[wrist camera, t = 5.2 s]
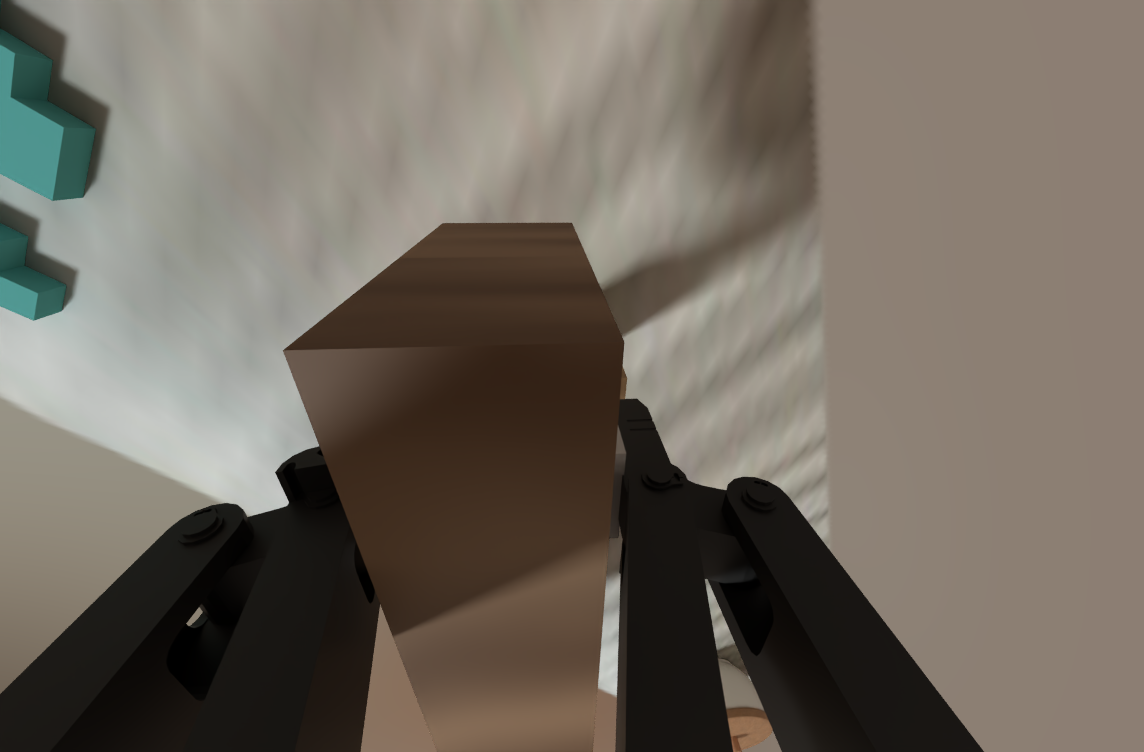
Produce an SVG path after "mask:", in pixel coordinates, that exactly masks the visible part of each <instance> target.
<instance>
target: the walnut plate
mask: <svg viewBox="0 0 1144 752" xmlns="http://www.w3.org/2000/svg"><path fill="white" fill-rule="evenodd" d="M283 352H284V355H285V357H286V360H287V362H288V365H289V368H290V370H291V373H292V375H293V378H294V381H295V383H296V386H297V388H298V391H299V394H300V396H301V399H302V401H303V404H304V407H305V409H306V412H307V414H308V417H309V420H310V422H311V425H312V427H313V430H314V433H315V435H316V438H317V441H318V443H319V446H320V448H321V451H322V454H323V456H324V459H325V461H326V464H327V467H328V469H329V472H330V474H331V477H332V480H333V482H334V485H335V487H336V490H337V493H338V495H339V498H340V500H341V503H342V506H343V508H344V511H345V513H346V516H347V519H348V521H349V524H350V526H351V529H352V532H353V534H354V537H355V539H356V542H357V545H358V547H359V550H360V552H361V555H362V558H363V560H364V563H365V565H366V568H367V571H368V573H369V576H370V578H371V581H372V584H373V586H374V589H375V591H376V594H377V597H378V599H379V602H380V604H381V607H382V610H383V612H384V615H385V617H386V620H387V622H388V625H389V628H390V630H391V633H392V635H393V638H394V641H395V644H396V646H397V649H398V651H399V654H400V656H401V659H402V662H403V664H404V667H405V670H406V672H407V675H408V677H409V680H410V682H411V685H412V688H413V690H414V693H415V696H416V698H417V701H418V703H419V706H420V709H421V711H422V714H423V716H424V719H425V722H426V724H427V727H428V729H429V732H430V735H431V737H432V740H433V742H434V745H435V748H436V750H437V752H593V741H594V729H595V715H596V702H597V690H598V677H599V664H600V651H601V638H602V625H603V612H604V599H605V586H606V573H607V560H608V547H609V534H610V521H611V508H612V495H613V482H614V469H615V456H616V443H617V430H618V417H619V404H620V391H621V378H622V365H623V352H624V340H623V338H622V336H621V333H620V331H619V329H618V327H617V324H616V322H615V320H614V318H613V315H612V313H611V311H610V308H609V306H608V304H607V302H606V299H605V297H604V295H603V293H602V290H601V288H600V286H599V283H598V281H597V279H596V277H595V274H594V272H593V270H592V268H591V265H590V263H589V261H588V258H587V256H586V254H585V252H584V249H583V247H582V245H581V243H580V240H579V238H578V236H577V233H576V231H575V229H574V227H573V224H572V223H443V224H441V225H440V226H439V227H438V228H436V229H435V230H434V231H433V232H431V233H430V234H429V235H428V236H426V237H425V238H424V239H422V240H421V241H420V242H419V243H417V244H416V245H415V246H414V247H412V248H411V249H410V250H409V251H407V252H406V253H405V254H404V255H402V256H401V257H400V258H399V259H397V260H396V261H395V262H394V263H392V264H391V265H390V266H389V267H387V268H386V269H385V270H383V271H382V272H381V273H380V274H378V275H377V276H376V277H375V278H373V279H372V280H371V281H370V282H368V283H367V284H366V285H365V286H363V287H362V288H361V289H360V290H358V291H357V292H356V293H355V294H353V295H352V296H351V297H350V298H348V299H347V300H346V301H344V302H343V303H342V304H341V305H339V306H338V307H337V308H336V309H334V310H333V311H332V312H331V313H329V314H328V315H327V316H326V317H324V318H323V319H322V320H321V321H319V322H318V323H317V324H316V325H314V326H313V327H312V328H311V329H309V330H308V331H307V332H305V333H304V334H303V335H302V336H300V337H299V338H298V339H297V340H295V341H294V342H293V343H292V344H290V345H289V346H288V347H287V348H285V349H284V350H283Z"/></svg>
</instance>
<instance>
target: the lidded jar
mask: <svg viewBox="0 0 1144 752" xmlns="http://www.w3.org/2000/svg"><path fill="white" fill-rule="evenodd" d="M718 662H719V668H720V674H721V680H722V686H723V692H724V698H725V704H726V710H727V716H728V722H729V728H730V734H731V740H732V746H733V752H742V750H743V749H746V748H749V747H752V746H754V745H757V744H759V743H760V742H762V741H763V740H765V739H766V738H767V737H768V736H769V735H770V734H771V733H772V731H773V729H772V727H771V725H770V722H769V720H768V718H767V715H766V713H765V711H764V709H763V706H762V704H761V702H760V699H759V697H758V695H757V692H756V690H755V688H754V685H753V683H752V682H751V681H750V679H749V678H748V677H747V676H746V675H745V674H744V673H743V672H742V671H741V670H740V669H738V668H737V667H735V666H733V665H731V663H730V662H729V661H728V660H726V659H721V658H718Z"/></svg>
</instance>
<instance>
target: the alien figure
mask: <svg viewBox="0 0 1144 752" xmlns="http://www.w3.org/2000/svg"><path fill="white" fill-rule="evenodd" d="M0 10H1V0H0ZM52 63H53V60H51V59H50V58H48V57H47V56H45V55H43V54H42V53H40V52H38V51H37V50H35V49H33V48H32V47H30V46H29V45H27V44H25V43H24V42H22V41H20V40H19V39H17V38H16V37H14V36H12V35H11V34H9V33H7V32H6V31H4V30H2V29H1V28H0V174H2V175H3V176H5V177H7V178H9V179H11V180H13V181H15V182H17V183H19V184H21V185H23V186H25V187H27V188H29V189H31V190H33V191H34V192H36V193H38V194H40V195H42V196H44V197H46V198H48V199H50V200H52V201H55V200H64V199H74V198H83V195H84V190H85V184H86V179H87V174H88V168H89V163H90V158H91V152H92V147H93V142H94V136H95V131H96V129H95V128H93V127H92V126H90V125H88V124H86V123H85V122H83V121H81V120H80V119H78V118H76V117H74V116H73V115H71V114H69V113H68V112H66V111H64V110H62V109H61V108H59V107H57V106H56V105H54V104H52V103H50V102H49V101H47V99H48V92H49V84H50V77H51V70H52ZM27 243H28V236H26V235H24V234H22V233H20V232H18V231H15V230H13V229H11V228H9V227H7V226H5V225H3V224H1V223H0V306H1V307H3V308H6V309H8V310H10V311H13V312H15V313H17V314H20V315H22V316H24V317H27V318H29V319H31V320H37V319H40V318H43V317H46V316H49V315H52V314H55V313H57V312H60V311H62V307H63V301H64V296H65V291H66V285H65V284H63V283H61V282H59V281H56V280H54V279H52V278H50V277H48V276H46V275H43V274H41V273H39V272H37V271H35V270H33V269H31V268H28V267H26V266H24V265H25V258H26V251H27Z"/></svg>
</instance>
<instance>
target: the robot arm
mask: <svg viewBox="0 0 1144 752" xmlns="http://www.w3.org/2000/svg"><path fill="white" fill-rule="evenodd" d="M275 473H276V475H277V477H278V479H279V482H280V484H281V486H282V488H283V490H284V492H285V494H286V496H287V499H288V501H289V504H288V506H286V507H283V508H280V509H276V510H272V511H269V512H265V513H261V514H257V515H254V516H250V517H247V516H246V514H245V512H244V510H243V509H242V508H241V507H239V506H238V505H236V504H229V503H224V504H217V505H212V506H209V507H206V508H203V509H201V510H197V511H195V512H193V513H191V514H190V515H188V516H186V517H184V518H182V519H181V520H179V521H178V522H177V523H175V524H174V525H173V526H172V527H171V528H169V529H168V530H167V531H166V532H165V533H164V534H163V535H162V536H161V537H160V538H159V539H158V540H157V541H156V542H155V543H154V544H153V545H152V546H151V547H150V548H149V549H148V550H146V551H145V553H143V554H142V555H141V556H140V557H139V558H138V559H137V560H136V561H135V562H134V563H133V564H132V565H131V566H130V567H129V568H128V569H127V570H126V571H125V572H124V573H123V574H122V575H121V576H120V577H119V578H118V579H117V580H116V581H115V582H114V583H113V584H112V585H111V586H110V587H109V588H108V589H107V590H106V591H105V592H104V593H103V594H102V595H101V596H100V597H99V598H98V599H97V600H96V601H95V602H94V603H93V604H91V605H90V607H88V609H86V610H85V611H84V612H83V613H82V614H81V615H80V616H79V617H78V618H77V619H76V620H75V621H74V622H73V623H72V624H71V625H70V626H69V627H68V628H67V629H66V630H65V631H64V632H63V633H62V634H61V635H60V636H59V637H58V638H57V639H56V640H55V641H54V642H53V643H52V644H51V645H50V646H49V647H48V648H47V649H46V650H45V651H44V652H43V653H42V654H41V655H40V656H39V657H38V658H37V659H36V660H34V661H33V662H32V663H31V664H30V665H29V666H28V667H27V668H26V669H25V670H24V671H23V672H22V673H21V674H20V675H19V676H18V677H17V678H16V679H15V680H14V681H13V682H12V683H11V684H10V685H9V686H8V687H7V688H6V689H5V690H4V691H3V692H2V693H1V694H0V752H360V751H361V743H362V735H363V728H364V720H365V712H366V706H367V698H368V691H369V682H370V675H371V668H372V661H373V653H374V646H375V638H376V631H377V623H378V615H379V608H380V602H379V599H378V597H377V594H376V591H375V589H374V586H373V584H372V581H371V578H370V576H369V573H368V571H367V568H366V565H365V563H364V560H363V558H362V555H361V552H360V550H359V547H358V545H357V542H356V539H355V537H354V534H353V532H352V529H351V526H350V524H349V521H348V519H347V516H346V513H345V511H344V508H343V506H342V503H341V500H340V498H339V495H338V493H337V490H336V487H335V485H334V482H333V480H332V477H331V474H330V472H329V469H328V467H327V464H326V461H325V459H324V456H323V454H322V451H321V448H320V446H319V447H315V448H311V449H307V450H305V451H303V452H300V453H298V454H296V455H294V456H292V457H291V458H289V459H288V460H287V461H285V462H284V463H282V465H281V466H280V467H279V468H278V470H277V471H276V472H275ZM619 526H620V529H621V534H622V538H623V541H622V551H621V561H620V571H619V573H621V580H620V614H619V648H618V682H617V718H616V750H615V752H733V746H732V740H731V734H730V728H729V722H728V716H727V710H726V704H725V698H724V692H723V686H722V680H721V674H720V668H719V662H718V656H717V650H716V644H715V638H714V632H713V626H712V620H711V614H710V608H709V602H708V596H707V590H706V584H705V579H708V581H709V583H710V586H711V588H712V590H713V593H714V595H715V597H716V600H717V602H718V604H719V607H720V609H721V611H722V614H723V616H724V618H725V620H726V623H727V625H728V627H729V630H730V632H731V634H732V637H733V639H734V641H735V644H736V646H737V648H738V651H739V653H740V655H741V658H742V660H743V662H744V665H745V667H746V669H747V671H748V674H749V676H750V678H751V681H752V683H753V685H754V688H755V690H756V692H757V695H758V697H759V699H760V702H761V704H762V706H763V709H764V711H765V713H766V715H767V718H768V720H769V722H770V725H771V727H772V729H773V732H774V734H775V736H776V739H777V741H778V743H779V745H780V748H781V750H782V752H984V751H983V750H982V749H981V747H980V746H979V745H978V743H977V742H976V741H975V740H974V738H973V737H972V736H971V734H970V733H969V732H968V730H967V729H966V728H965V726H964V725H963V724H962V723H961V721H960V720H959V719H958V717H957V716H956V715H955V713H954V712H953V711H952V709H951V708H950V707H949V706H948V704H947V703H946V702H945V700H944V699H943V698H942V697H941V695H940V694H939V693H938V691H937V690H936V689H935V687H934V686H933V685H932V683H931V682H930V681H929V679H928V678H927V677H926V675H925V674H924V673H923V672H922V670H921V669H920V668H919V666H918V665H917V664H916V663H915V661H914V660H913V659H912V657H911V656H910V655H909V653H908V652H907V651H906V649H905V648H904V647H903V645H902V644H901V643H900V642H899V640H898V639H897V638H896V636H895V635H894V634H893V632H892V631H891V630H890V628H889V627H888V626H887V625H886V623H885V622H884V621H883V619H882V618H881V617H880V615H879V614H878V613H877V612H876V610H875V609H874V608H873V606H872V605H871V604H870V603H869V601H868V600H867V598H866V597H865V596H864V595H863V593H862V592H861V591H860V589H859V588H858V587H857V585H856V584H855V583H854V582H853V580H852V579H851V578H850V576H849V575H848V574H847V572H846V571H845V570H844V568H843V567H842V566H841V565H840V563H839V562H838V561H837V559H836V558H835V557H834V555H833V554H832V553H831V551H830V550H829V549H828V548H827V546H826V545H825V544H824V542H823V541H822V540H821V538H820V537H819V536H818V535H817V533H816V532H815V531H814V529H813V528H812V527H811V525H810V524H809V523H808V521H807V520H806V519H805V518H804V516H803V515H802V514H801V512H800V511H799V510H798V508H797V507H796V506H795V505H794V503H793V502H792V501H791V499H790V498H789V497H788V496H787V495H786V494H785V493H784V492H783V491H782V490H781V489H780V488H779V487H777V486H775V485H774V484H772V483H770V482H768V481H766V480H762V479H759V478H756V477H741V478H737V479H734V480H733V481H731V482H730V483H729V484H728V487H727V490H721V489H716V488H711V487H706V486H702V485H699V484H695V483H693V482H691V481H689V480H687V478H686V475H685V474H684V473H683V472H682V471H681V470H680V469H679V468H678V467H676V466H674V465H672V464H671V463H670V460H669V458H668V455H667V453H666V451H665V448H664V446H663V444H662V441H661V439H660V436H659V434H658V432H657V430H656V427H655V424H654V422H653V421H652V417H651V415H650V413H649V410H648V408H647V407H646V406H645V405H644V404H642V403H641V402H640V401H639V400H638V399H620V404H619V417H618V430H617V443H616V456H615V469H614V482H613V495H612V508H611V521H610V534H609V538H618V536H619ZM199 607H200V608H201V610H202V611H203V613H202V614H201V615H200V617H199V618H198V619H197V620H196V621H195V622H194V623H193V624H192V625H191V626H188V625H187V624H186V623H187V622H188V621H189V619H190V618H191V617H192V615H193V614H194V613H195V611H196V610H197V609H198V608H199Z"/></svg>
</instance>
